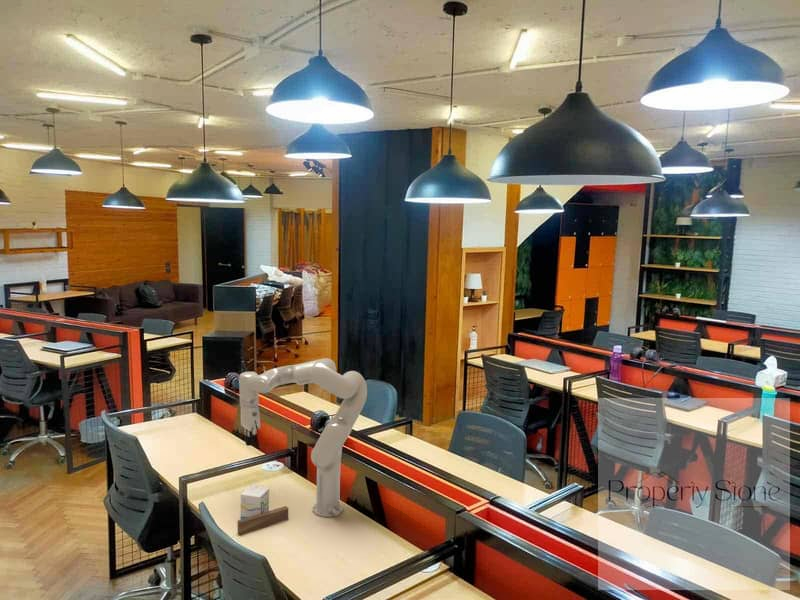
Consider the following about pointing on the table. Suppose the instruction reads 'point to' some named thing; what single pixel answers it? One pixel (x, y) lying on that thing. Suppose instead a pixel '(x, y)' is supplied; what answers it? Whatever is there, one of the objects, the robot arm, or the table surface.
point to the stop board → (262, 520)
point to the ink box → (254, 501)
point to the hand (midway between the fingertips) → (250, 444)
